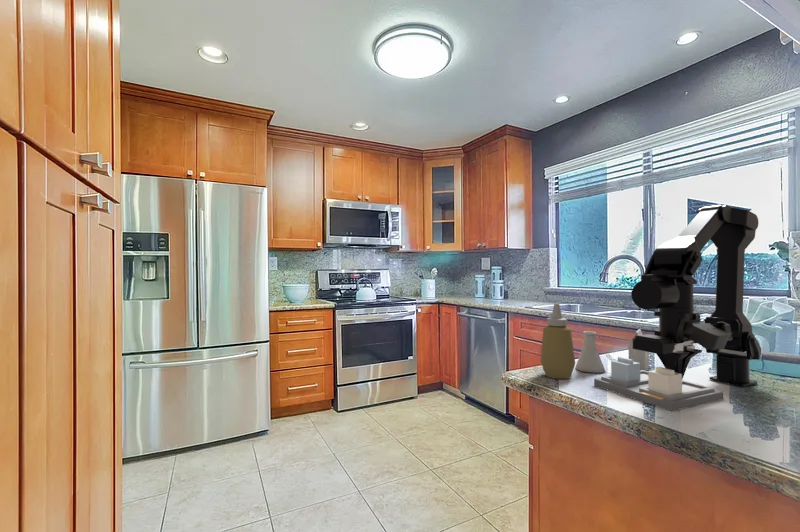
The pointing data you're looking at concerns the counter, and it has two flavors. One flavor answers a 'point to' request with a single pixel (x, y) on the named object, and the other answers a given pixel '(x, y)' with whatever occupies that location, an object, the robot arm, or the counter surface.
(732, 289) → the robot arm
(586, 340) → the flask
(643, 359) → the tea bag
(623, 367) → the tab blue
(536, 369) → the counter surface
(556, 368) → the squeeze bottle
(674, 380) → the tab ivory
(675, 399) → the grey divided tray
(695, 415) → the counter surface
